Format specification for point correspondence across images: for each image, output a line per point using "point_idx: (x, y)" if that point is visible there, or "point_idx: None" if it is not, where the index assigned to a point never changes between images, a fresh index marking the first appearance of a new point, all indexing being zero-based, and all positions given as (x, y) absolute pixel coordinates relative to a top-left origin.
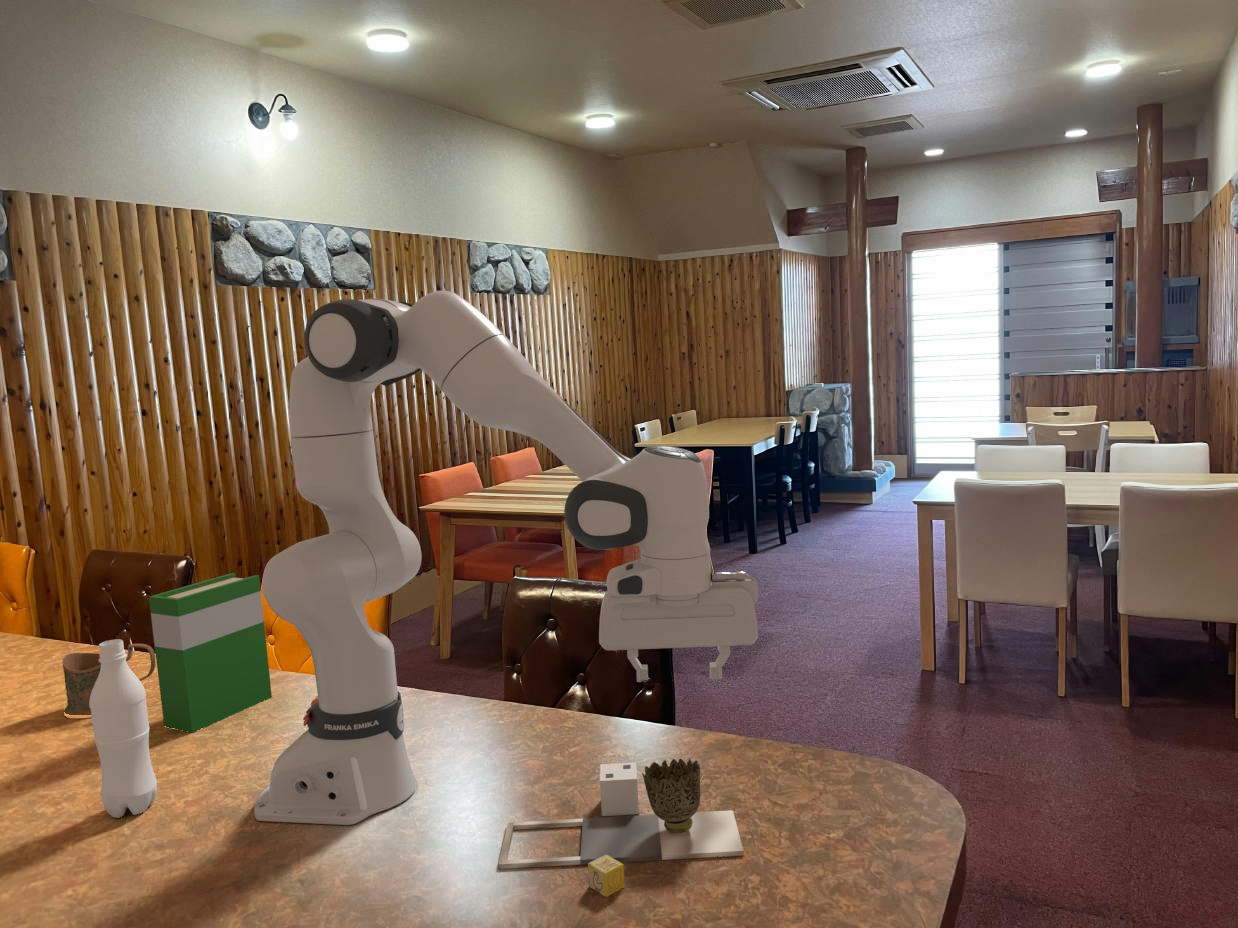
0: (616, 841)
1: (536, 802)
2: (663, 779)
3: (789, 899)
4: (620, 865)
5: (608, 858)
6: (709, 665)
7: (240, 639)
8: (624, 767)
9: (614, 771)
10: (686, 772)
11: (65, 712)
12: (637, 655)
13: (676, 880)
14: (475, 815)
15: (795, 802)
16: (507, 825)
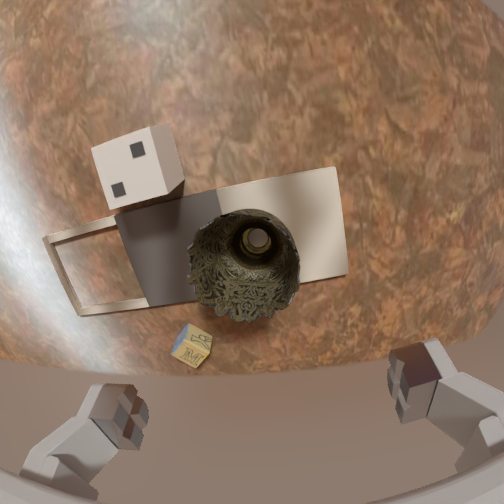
0: (176, 267)
1: (45, 172)
2: (237, 321)
3: (383, 336)
4: (206, 355)
5: (189, 346)
6: (404, 382)
7: None
8: (134, 154)
9: (121, 171)
10: (266, 218)
11: None
12: (95, 493)
13: (268, 323)
14: (8, 216)
15: (423, 127)
16: (44, 243)
